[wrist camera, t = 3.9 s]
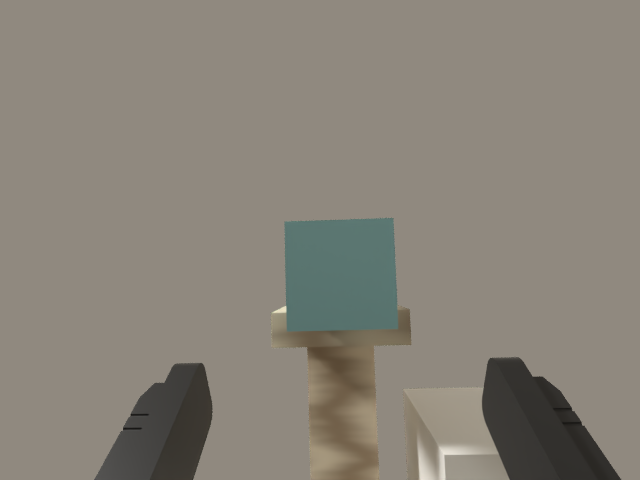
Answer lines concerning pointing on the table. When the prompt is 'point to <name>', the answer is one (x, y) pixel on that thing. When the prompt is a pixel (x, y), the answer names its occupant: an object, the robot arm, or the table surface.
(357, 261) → the teal bar
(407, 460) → the base pedestal
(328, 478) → the beige wooden column stand
